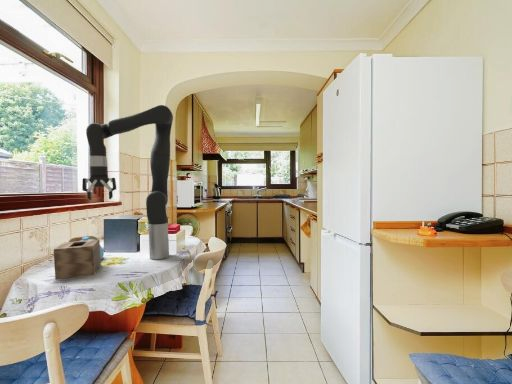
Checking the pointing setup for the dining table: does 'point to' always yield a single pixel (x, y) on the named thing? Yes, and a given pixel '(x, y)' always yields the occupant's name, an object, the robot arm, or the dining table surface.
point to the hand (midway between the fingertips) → (100, 199)
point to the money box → (77, 258)
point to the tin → (81, 238)
